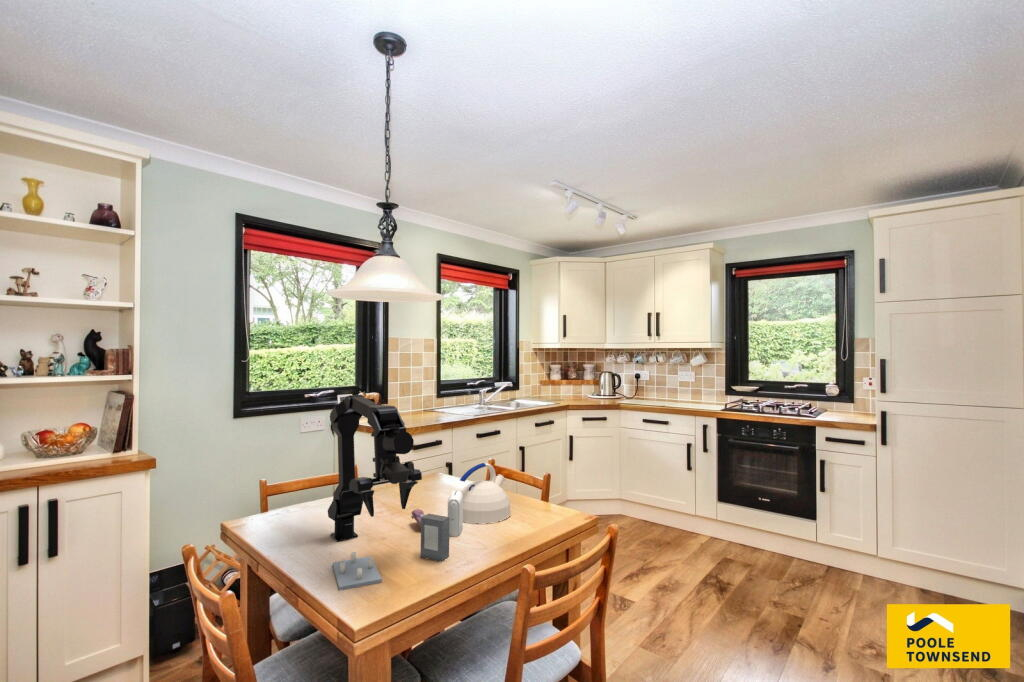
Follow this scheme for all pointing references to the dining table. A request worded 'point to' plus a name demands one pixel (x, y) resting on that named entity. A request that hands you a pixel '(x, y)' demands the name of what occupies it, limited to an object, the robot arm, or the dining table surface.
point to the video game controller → (417, 516)
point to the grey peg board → (356, 572)
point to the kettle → (484, 498)
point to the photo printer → (455, 512)
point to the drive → (435, 537)
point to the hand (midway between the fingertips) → (388, 512)
